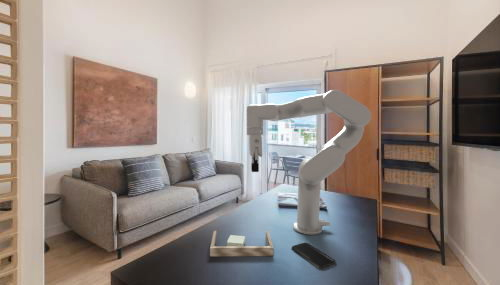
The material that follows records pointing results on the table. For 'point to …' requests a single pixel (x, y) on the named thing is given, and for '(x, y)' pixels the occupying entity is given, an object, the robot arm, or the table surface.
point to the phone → (313, 255)
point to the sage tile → (236, 240)
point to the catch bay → (241, 249)
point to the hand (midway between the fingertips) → (255, 171)
